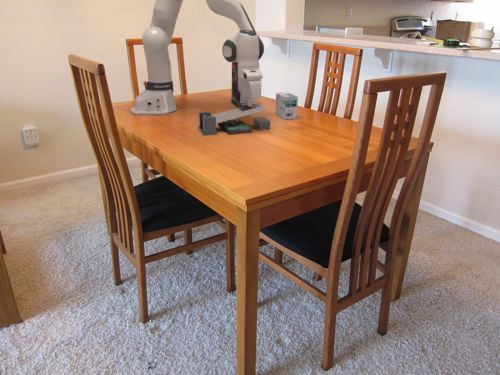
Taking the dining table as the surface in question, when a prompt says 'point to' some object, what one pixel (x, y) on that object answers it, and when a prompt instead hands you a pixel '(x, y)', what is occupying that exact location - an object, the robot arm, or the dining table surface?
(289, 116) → the light bulb box
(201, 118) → the strap bracket
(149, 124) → the dining table surface
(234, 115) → the bar
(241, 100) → the graphics card box
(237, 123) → the disk drive
